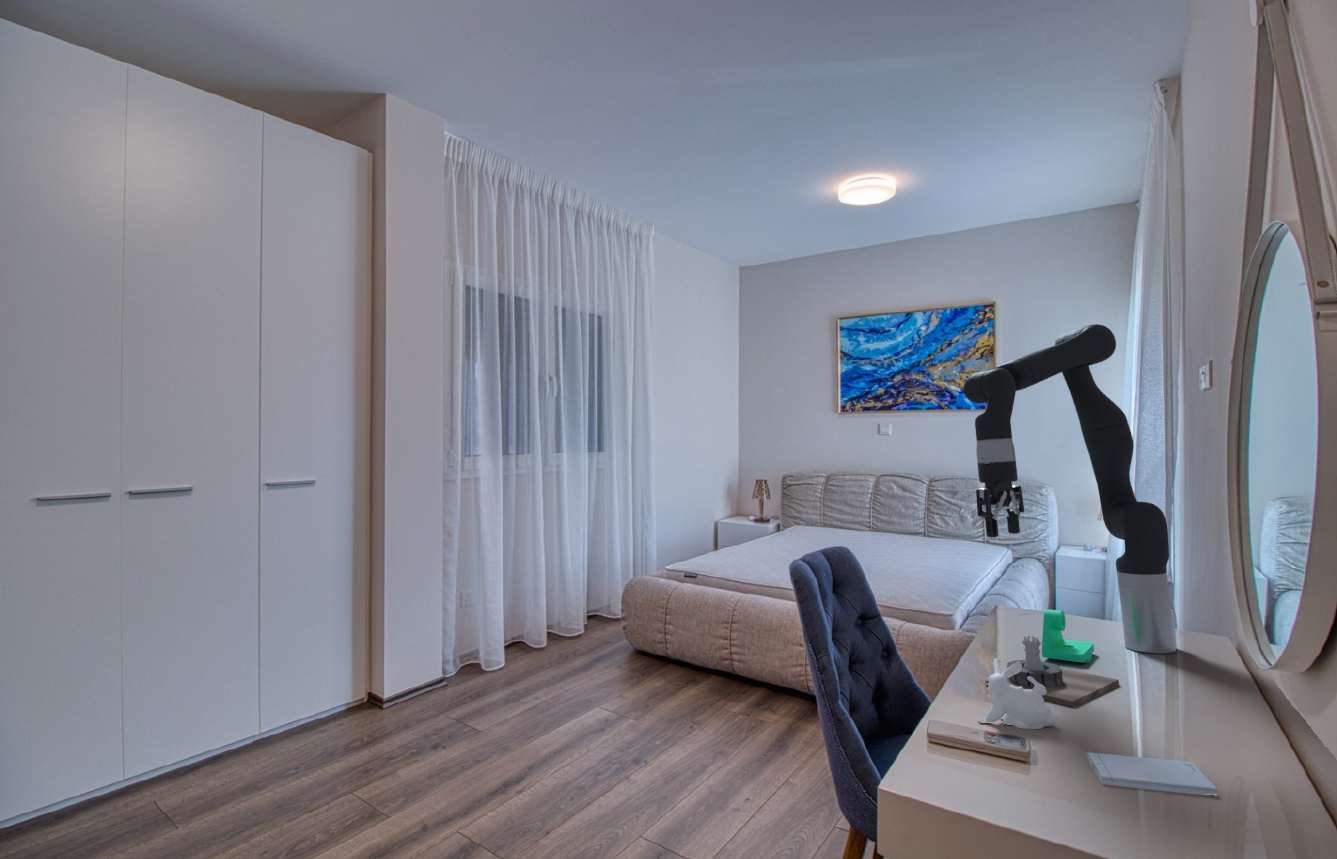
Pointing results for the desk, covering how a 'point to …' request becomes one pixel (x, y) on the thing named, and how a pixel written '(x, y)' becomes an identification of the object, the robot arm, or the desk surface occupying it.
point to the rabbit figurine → (1018, 701)
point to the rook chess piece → (1032, 654)
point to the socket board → (1062, 683)
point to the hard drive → (1150, 774)
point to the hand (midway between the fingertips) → (1003, 535)
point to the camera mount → (1062, 640)
